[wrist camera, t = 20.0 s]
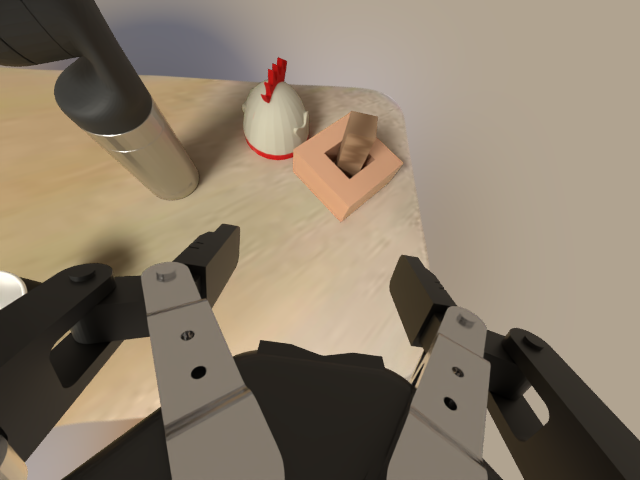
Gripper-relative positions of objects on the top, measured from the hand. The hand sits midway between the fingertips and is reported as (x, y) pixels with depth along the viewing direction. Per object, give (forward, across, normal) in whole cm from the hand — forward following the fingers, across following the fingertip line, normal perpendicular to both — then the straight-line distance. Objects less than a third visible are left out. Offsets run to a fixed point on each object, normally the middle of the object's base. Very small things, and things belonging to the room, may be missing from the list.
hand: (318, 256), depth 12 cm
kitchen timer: (+48, +10, -1) cm, 49 cm away
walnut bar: (+41, -6, +4) cm, 42 cm away
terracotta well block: (+42, -5, +4) cm, 43 cm away
